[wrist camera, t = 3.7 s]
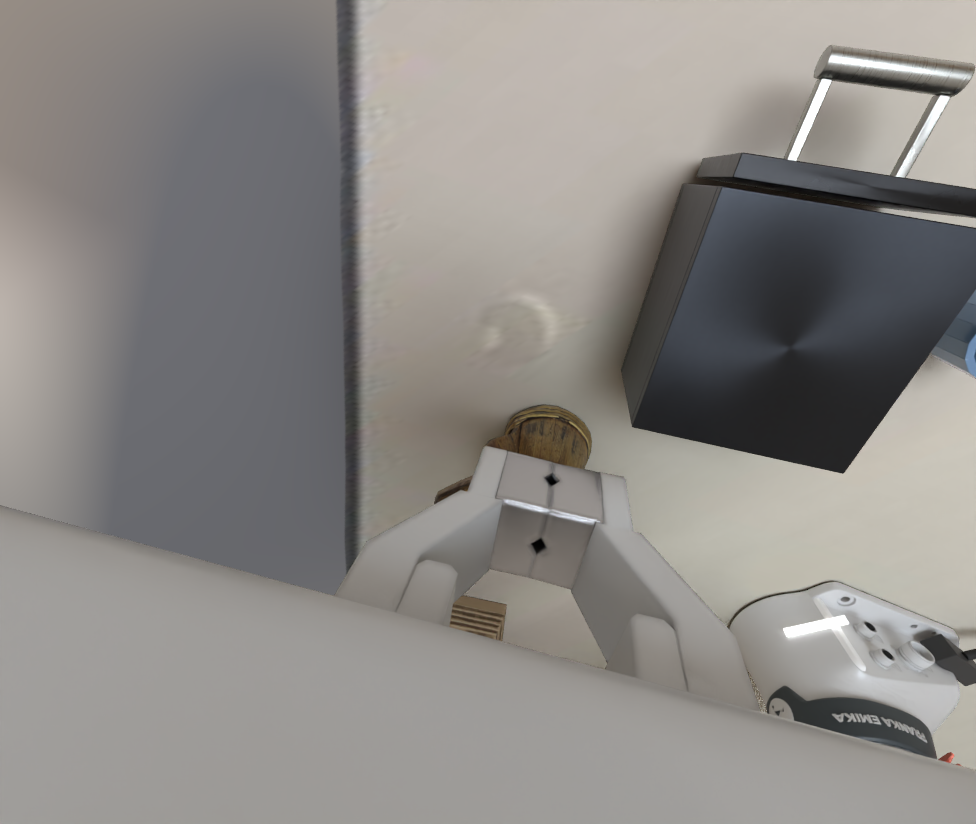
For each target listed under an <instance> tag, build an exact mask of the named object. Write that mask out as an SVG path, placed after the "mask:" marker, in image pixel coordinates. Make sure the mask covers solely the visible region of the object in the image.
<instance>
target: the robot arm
mask: <svg viewBox="0 0 976 824" xmlns="http://www.w3.org/2000/svg"><path fill="white" fill-rule="evenodd" d="M507 453H508V454H507ZM489 569H493V570H498V571H502V572H506V573H511V574H515V575H520V576H524V577H529V578H532V579H536V580H539V581H543V582H546V583H550V584H553V585H557V586H560V587H564V588H568V589H571V593H572V594H573V596H574V598H575V600H576V602H577V604H578V606H579V608H580V610H581V612H582V614H583V616H584V618H585V620H586V622H587V624H588V626H589V628H590V630H591V632H592V634H593V636H594V638H595V640H596V642H597V643H598V645H599V647H600V649H601V651H602V653H603V655H604V657H605V659H606V661H607V663H608V664H607V666H606V668H605V669H602V668H598V667H595V666H591V665H587V664H584V663H580V662H576V661H572V660H569V659H565V658H561V657H558V656H554V655H550V654H547V653H543V652H539V651H536V650H532V649H528V648H525V647H521V646H517V645H514V644H510V643H506V642H503V641H499V640H495V639H491V638H488V637H484V636H480V635H477V634H473V633H469V632H466V631H462V630H458V629H455V628H451V627H449V625H450V619H451V613H452V606H453V603H454V602H455V601H456V600H458V599H459V598H460V597H461V596H462V595H463V594H464V593H465V592H466V591H467V590H468V589H469V588H470V587H472V586H473V585H474V584H475V583H476V582H477V581H478V580H479V579H480V578H481V577H482V576H483V575H484V574H486V573H487V572H488V570H489ZM974 659H976V649H973V650H968V651H964V652H963V651H962V650H961V649H959V637H958V636H957V634H956V632H955V631H954V630H953V629H951V628H949V627H947V626H945V625H942V624H940V623H937V622H935V621H932V620H930V619H928V618H925V617H923V616H920V615H918V614H915V613H913V612H910V611H908V610H906V609H903V608H901V607H898V606H896V605H893V604H891V603H888V602H886V601H884V600H881V599H879V598H876V597H874V596H871V595H869V594H866V593H864V592H861V591H859V590H857V589H854V588H852V587H849V586H847V585H844V584H842V583H839V582H828V583H824V584H821V585H819V586H816V587H813V588H811V589H809V590H806V591H802V592H797V593H789V594H782V595H777V596H772V597H769V598H766V599H763V600H760V601H758V602H755V603H753V604H751V605H750V606H748V607H746V608H745V609H744V610H742V611H741V612H740V613H739V614H738V615H737V616H736V617H735V618H734V620H733V621H732V623H731V626H730V629H728V628H727V627H726V626H725V625H724V623H723V622H722V621H721V620H720V619H719V618H718V617H717V616H716V615H715V614H714V613H713V611H712V610H711V609H710V608H709V607H708V606H707V605H706V604H705V603H704V602H703V600H702V599H701V598H700V597H699V596H698V595H697V594H696V593H695V592H694V591H693V590H692V588H691V587H690V586H689V585H688V584H687V583H686V582H685V581H684V580H683V579H682V578H681V576H680V575H679V574H678V573H677V572H676V571H675V570H674V569H673V568H672V567H671V566H670V564H669V563H668V562H667V561H666V560H665V559H664V558H663V557H662V556H661V555H660V553H659V552H658V551H657V550H656V549H655V548H654V547H653V546H652V545H651V544H650V543H649V541H648V540H647V539H646V538H645V537H644V536H643V535H642V534H641V533H638V532H634V531H633V524H632V518H631V511H630V505H629V498H628V492H627V485H626V480H625V478H624V477H622V476H617V475H612V474H607V473H602V472H594V471H590V470H585V469H580V468H576V467H571V466H566V465H561V464H557V463H553V462H551V461H546V460H542V459H538V458H534V457H530V456H526V455H522V454H518V453H514V452H510V451H508V452H507V450H502V449H498V448H493V447H489V446H485V447H484V448H483V450H482V453H481V455H480V458H479V461H478V464H477V466H476V469H475V472H474V475H473V477H472V480H471V483H470V485H469V488H468V491H462V490H460V491H458V492H456V493H454V494H453V495H451V496H449V497H447V498H445V499H443V500H441V501H440V502H438V503H436V504H434V505H432V506H430V507H429V508H427V509H425V510H423V511H421V512H419V513H418V514H416V515H414V516H412V517H410V518H408V519H407V520H405V521H403V522H401V523H399V524H397V525H395V526H394V527H392V528H390V529H388V530H386V531H384V532H383V533H381V534H379V535H377V536H375V537H373V538H372V539H370V540H368V541H366V543H365V545H364V546H363V548H362V550H361V551H360V553H359V555H358V556H357V558H356V560H355V561H354V563H353V565H352V566H351V568H350V570H349V571H348V573H347V575H346V576H345V578H344V580H343V581H342V583H341V585H340V586H339V588H338V590H337V591H336V593H335V595H334V596H333V595H329V594H325V593H321V592H318V591H314V590H310V589H307V588H303V587H300V586H296V585H292V584H288V583H285V582H281V581H277V580H274V579H270V578H266V577H263V576H259V575H255V574H251V573H248V572H244V571H241V570H237V569H233V568H230V567H226V566H222V565H218V564H215V563H211V562H208V561H204V560H200V559H196V558H193V557H188V556H185V555H182V554H178V553H174V552H171V551H167V550H163V549H159V548H156V547H152V546H148V545H145V544H141V543H138V542H134V541H130V540H126V539H123V538H119V537H115V536H112V535H108V534H104V533H100V532H97V531H93V530H90V529H86V528H82V527H78V526H75V525H71V524H68V523H64V522H60V521H56V520H53V519H49V518H45V517H42V516H38V515H34V514H31V513H27V512H23V511H20V510H16V509H12V508H9V507H5V506H1V505H0V824H976V770H974V769H970V768H967V767H963V766H961V765H960V764H952V763H951V761H952V759H953V757H954V754H953V753H951V752H950V753H947V754H946V755H944V756H943V757H941V758H940V759H938V760H937V756H936V751H935V747H934V743H933V740H932V735H933V734H934V733H935V731H936V730H937V729H938V728H939V727H940V726H941V724H942V723H943V722H944V721H945V720H946V719H947V717H948V716H949V715H950V714H951V713H952V711H953V710H954V709H955V707H956V706H957V704H958V701H959V699H960V688H959V684H958V681H959V682H960V683H962V684H963V685H964V686H968V685H971V684H974V683H976V663H975V662H974V661H973V660H974ZM746 668H747V669H746ZM747 670H748V671H749V673H750V675H751V677H752V679H753V681H754V683H755V685H756V687H757V689H758V691H759V693H760V695H761V697H762V699H763V702H764V704H765V706H766V709H767V713H764V712H761V711H760V708H759V705H758V702H757V699H756V696H755V693H754V690H753V687H752V684H751V681H750V678H749V675H748V672H747ZM957 680H958V681H957Z"/></svg>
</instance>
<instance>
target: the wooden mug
mask: <svg viewBox="0 0 976 824" xmlns="http://www.w3.org/2000/svg"><path fill="white" fill-rule="evenodd" d="M591 445H592V440H591V434H590V431H589V430H588V428H587V427H586V425H585V423H583V422H582V421H581V420H580V419H579V418H578V417H577V416H576V415H574V414H573V413H571V412H569V411H567V410H565V409H562V408H560V407H558V406H549V405H541V406H535V407H531V408H529V409H526V410H524V411H522V412H520V413H518V414H516V415H515V416H514V417H513V418H512V419H511V420H510V422H509V424H508V425H507V428H506V431H505V435H504V436H500V437H497V438H495V439H492V440H489V441H488V443H487V444H486V445H485V446H489V447H493V448H498V449H502V450H507V452H508V451H510V452H514V453H518V454H522V455H526V456H530V457H534V458H538V459H542V460H546V461H551V462H553V463H557V464H561V465H566V466H571V467H576V468H580V469H585V465H586V463H587V461H588V459H589V456H590V452H591ZM485 446H484V447H485ZM507 454H508V453H507ZM472 477H473V476H470V477H467V478H465V479H463V480H460V481H458V482H456V483H454V484H452V485H450V486H448V487H446V488H444V489H442V490H440V491H438V493H437V495H436V497H435V501H434V504H436V503H438V502H440V501H441V500H443V499H445V498H447V497H449V496H451V495H453V494H454V493H456V492H458V491H460V490H462V491H468V488H469V485H470V483H471V480H472Z"/></svg>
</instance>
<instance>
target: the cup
mask: <svg viewBox="0 0 976 824" xmlns="http://www.w3.org/2000/svg"><path fill="white" fill-rule="evenodd" d="M929 355H931V356H933V357H935V358H936V359H938V360H940V361H942V362H944V363H946V364H948V365H950V366H952V367H954V368H956V369H958V370H960V371H962V372H964V373H966V374H968V375H969V376H971V377H973V378H975V379H976V290H975V292H974V293H973V294H972V296H971V297H970V299H969V300H968V301H967V303H966V304H965V305H964V307H963V308H962V310H961V311H960V312H959V314H958V315H957V317H956V318H955V319H954V321H953V322H952V324H951V325H950V326H949V328H948V329H947V330H946V332H945V333H944V335H943V336H942V337H941V339H940V340H939V342H938V343H937V344H936V346H935V347H934V349H933V350H932V351H931V353H930V354H929Z"/></svg>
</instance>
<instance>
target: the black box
mask: <svg viewBox="0 0 976 824" xmlns="http://www.w3.org/2000/svg"><path fill="white" fill-rule="evenodd" d="M975 290H976V228H973V227H967V226H961V225H954V224H948V223H942V222H936V221H930V220H924V219H918V218H912V217H906V216H900V215H894V214H888V213H882V212H876V211H869V210H863V209H857V208H851V207H845V206H839V205H833V204H827V203H821V202H815V201H809V200H803V199H797V198H791V197H784V196H778V195H772V194H766V193H760V192H754V191H748V190H742V189H736V188H730V187H724V186H710V185H697V184H683V185H682V187H681V190H680V193H679V196H678V199H677V202H676V205H675V208H674V211H673V214H672V218H671V221H670V224H669V227H668V230H667V233H666V236H665V239H664V242H663V245H662V248H661V251H660V254H659V257H658V260H657V263H656V266H655V269H654V272H653V275H652V278H651V281H650V284H649V287H648V290H647V293H646V296H645V299H644V302H643V305H642V308H641V311H640V314H639V317H638V320H637V323H636V326H635V329H634V332H633V335H632V338H631V341H630V344H629V347H628V350H627V353H626V356H625V359H624V362H623V365H622V368H621V372H622V378H623V383H624V388H625V393H626V398H627V403H628V408H629V413H630V418H631V423H632V427H634V428H639V429H643V430H648V431H652V432H657V433H661V434H666V435H671V436H675V437H680V438H684V439H689V440H693V441H698V442H702V443H707V444H711V445H716V446H720V447H725V448H729V449H734V450H738V451H743V452H747V453H752V454H756V455H761V456H766V457H770V458H775V459H779V460H784V461H788V462H793V463H797V464H802V465H806V466H811V467H815V468H820V469H824V470H829V471H833V472H838V473H842V474H843V473H844V472H845V471H846V470H847V468H848V467H849V465H850V464H851V463H852V461H853V460H854V458H855V457H856V456H857V454H858V453H859V451H860V450H861V449H862V447H863V446H864V444H865V443H866V442H867V440H868V439H869V438H870V436H871V435H872V433H873V432H874V431H875V429H876V428H877V426H878V425H879V424H880V422H881V421H882V419H883V418H884V417H885V415H886V414H887V413H888V411H889V410H890V408H891V407H892V406H893V404H894V403H895V401H896V400H897V399H898V397H899V396H900V394H901V393H902V392H903V390H904V389H905V387H906V386H907V385H908V383H909V382H910V381H911V379H912V378H913V376H914V375H915V374H916V372H917V371H918V369H919V368H920V367H921V365H922V364H923V362H924V361H925V360H926V358H927V357H928V356H929V354H930V353H931V351H932V350H933V349H934V347H935V346H936V344H937V343H938V342H939V340H940V339H941V337H942V336H943V335H944V333H945V332H946V330H947V329H948V328H949V326H950V325H951V324H952V322H953V321H954V319H955V318H956V317H957V315H958V314H959V312H960V311H961V310H962V308H963V307H964V305H965V304H966V303H967V301H968V300H969V299H970V297H971V296H972V294H973V293H974V292H975Z"/></svg>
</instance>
